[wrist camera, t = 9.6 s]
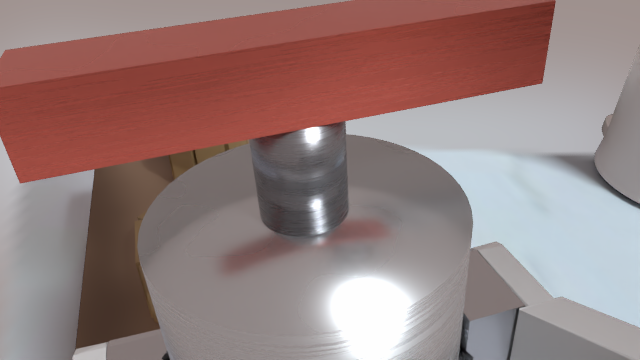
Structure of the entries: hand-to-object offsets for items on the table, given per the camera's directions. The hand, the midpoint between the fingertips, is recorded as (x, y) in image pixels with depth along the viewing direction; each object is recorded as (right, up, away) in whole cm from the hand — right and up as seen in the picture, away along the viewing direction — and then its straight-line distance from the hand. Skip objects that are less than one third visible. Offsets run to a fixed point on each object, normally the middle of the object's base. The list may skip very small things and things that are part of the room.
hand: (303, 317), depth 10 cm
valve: (+1, -6, +3) cm, 7 cm away
